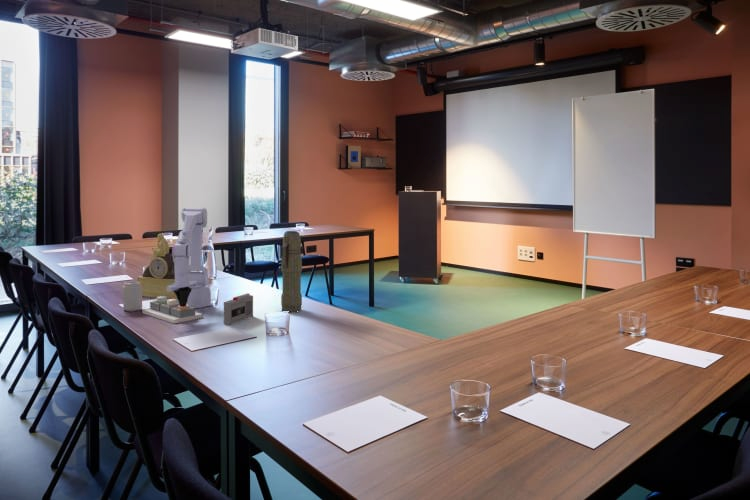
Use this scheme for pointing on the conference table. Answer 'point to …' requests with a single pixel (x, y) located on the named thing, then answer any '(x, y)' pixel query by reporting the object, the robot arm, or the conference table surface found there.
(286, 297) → the thermos
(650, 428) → the conference table surface
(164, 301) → the sage button
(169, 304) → the cream button
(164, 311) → the panel
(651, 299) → the conference table surface
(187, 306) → the terracotta button
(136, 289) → the can
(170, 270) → the decorative clock
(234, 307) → the cassette player
